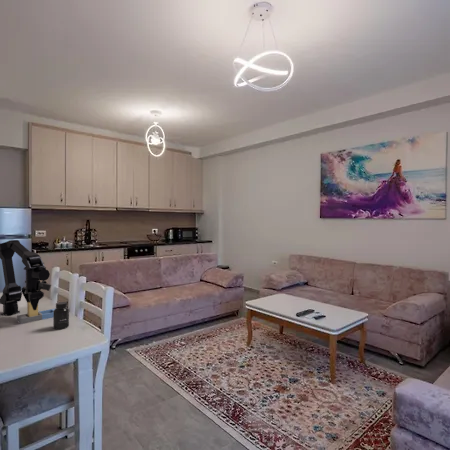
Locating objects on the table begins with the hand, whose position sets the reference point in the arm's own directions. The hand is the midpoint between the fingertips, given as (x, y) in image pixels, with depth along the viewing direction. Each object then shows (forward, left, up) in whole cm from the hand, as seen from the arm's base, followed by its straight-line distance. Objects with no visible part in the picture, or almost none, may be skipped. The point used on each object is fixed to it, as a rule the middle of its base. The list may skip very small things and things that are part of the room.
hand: (32, 308), depth 163 cm
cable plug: (0, 0, -6) cm, 6 cm away
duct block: (+2, +3, -6) cm, 7 cm away
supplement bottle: (+23, -8, -6) cm, 25 cm away
